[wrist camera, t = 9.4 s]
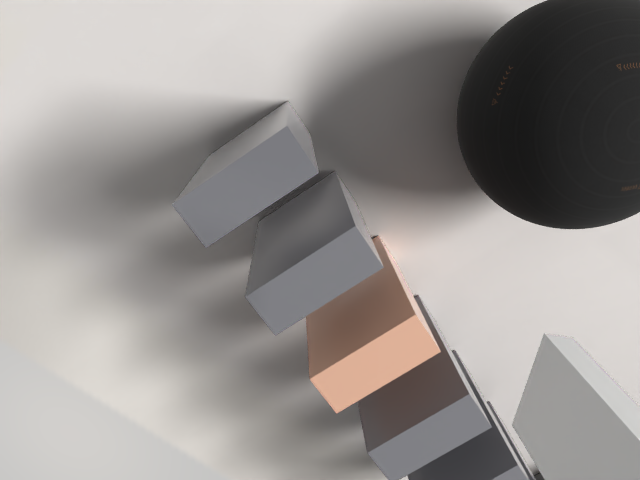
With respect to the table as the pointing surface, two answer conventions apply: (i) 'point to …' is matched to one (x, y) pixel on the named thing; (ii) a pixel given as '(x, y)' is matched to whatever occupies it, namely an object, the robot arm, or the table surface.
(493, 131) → the black ball
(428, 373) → the domino
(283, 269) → the domino
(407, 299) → the domino
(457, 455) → the domino
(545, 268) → the table surface
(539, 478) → the block
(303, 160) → the domino
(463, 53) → the table surface
